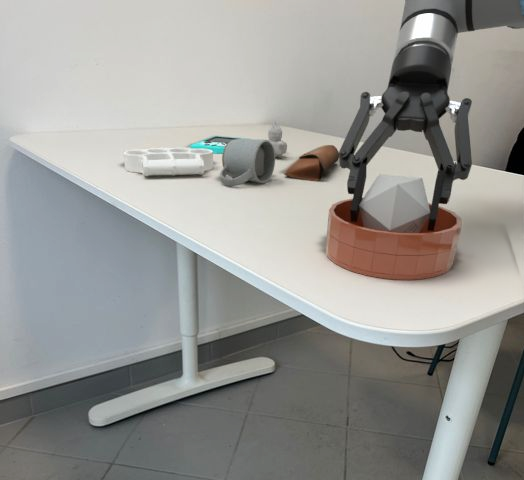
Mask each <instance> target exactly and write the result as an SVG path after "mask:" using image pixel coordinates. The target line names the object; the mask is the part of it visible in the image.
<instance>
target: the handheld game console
mask: <svg viewBox="0 0 524 480" xmlns="http://www.w3.org/2000/svg"><path fill="white" fill-rule="evenodd" d="M235 139H245V137H244V138H243V137H231V136H222V135H221V136H219V135H214V136H212V137H209V138H206V139H204V140H201V141H198V142H196V143H193V144H191V145H190V146H189V149H200V148H202V149H209V150H212V151H213V154H223V151H224V148H225V146H226V145H227V143H228V142H230V141H232V140H235Z"/></svg>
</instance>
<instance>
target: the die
mask: <svg viewBox="0 0 524 480" xmlns="http://www.w3.org/2000/svg"><path fill="white" fill-rule="evenodd" d="M423 179H424V178H423V177H415V176H406V175H405V176H404V175H393V174H384V173H379V174H378V175H377V177H376V178H375V179H374V181H373V183H372V184H371V185H370V187H369V189H368V190H367V192H366V193H365V194H364V196H363V197H364V198H363V197H362V198H363V199H362V201H361V202H360V204H359V208H360V212H361V216H362V221H363V225H364V227H365V228H369V229H374V230H379V231H387V232H396V233H419V232H420V231H421V229H422V227H423V226H424V224H425V222H426V221H427V219H428V217H429V215H430V209H429V204H428V203H429V200H428V197H427V196H428V195H427V191H426V188H425V183H424V180H423Z"/></svg>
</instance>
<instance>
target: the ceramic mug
mask: <svg viewBox="0 0 524 480" xmlns="http://www.w3.org/2000/svg"><path fill="white" fill-rule="evenodd" d="M268 140H269V139H254V138H253V139H252V138H244V139H235V140H232V141H230V142H228V143H227V145H226V146H225V148H224V151H223V153H222V157H221V164H222V167H223V168H222V169H221V170H220V172H219V177H220V180H221V183H222V184H223V185H225V186H227V187H236V186H241V185H243V184H245V183H247V182H252V183H258V184H266V183H267V182H268V181H269V180H270V179H271V178H272V176H273V173H274V170H275V167H276V166H275V165H276V157H275V152H274V148H273V145H272V144H271V142H270V141H268ZM227 176H228V177H231V178H226V177H227Z"/></svg>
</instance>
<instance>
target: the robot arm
mask: <svg viewBox="0 0 524 480" xmlns="http://www.w3.org/2000/svg"><path fill="white" fill-rule="evenodd" d="M502 27H507V28H510V29H514V30H517V29H518V30H521V29H524V0H404V7H403V11H402V18H401V23H400V27H399V32H398V35H397V39H396V45H395V49H394V55H393V61H392V63H391V64H392V65H391V68H390V74H389V78H388V83H387V87H386V90H385V91H384V92H383V93H382V95H375V96H371V93H370V92H368V91H364V92H361V94H360V97H359V101H360V102H359V109H358V110H357V113H356V115H355V117H354V119H353V121H352V123H351V126H350V127H349V130H348V132H347V134H346V136H345V138H344V140H343V143H342V144H341V147H340V149H339V150H338V152H339V159H338V163H339V167H340V168H341V169H348V170H349V173H348V178H347V184H346V187H347V188H346V189H347V190H346V191H347V194H348V195H353V196H352V199H353V200H352V205H351V209H350V214H351V221H352V222H357V219H358V214H359V210H360V208H359V204H360V202H361V200H362V198H363V195H364V190H365V185H366V181H367V167H368V164H369V163H370V162H371V161H372V159H373V158H374V157H375V155H376V154H377V153H379V151H380V149H381V148H382V147H383V146H384V144H386V142H387V141H388V140H389V138H391V137H393V135H394V134H395V133H396V132H397V131H400V132H402V131H403V132H405V131H412V132H416V133H423V135H424V138H425V140H426V141H427V143H428V145H429V148H430V151H431V153H432V156H433V158H434V159H433V160H434V161H435V163H436V167H437V169H438V170H437V174H436V177H435V182H434V189H433V195H432V200H431V204H432V205H431V211H430V216H429V222H428V228H427V230H429V231H434V227H435V223H436V218H437V212H438V207H439V206H440V205H448V203H449V202H450V198H451V195H452V190H453V182H454V181H455V180H460V181H461V180H462V181H465V180H467V179H468V178H469V176H470V173H471V169H472V165H473V160H472V159H473V158H472V149H471V148H472V147H471V136H470V126H469V125H470V124H469V114H470V111H471V107H472V103H473V102H472V101H473V100H472V99H471V98H467V97H465V98H463V99H462V100H461V102H460V101H456V100H455V101H454V100H451V99H450V98H451V97H450V96H449V94H448V92H449V86H450V81H451V74H452V66H453V62H454V57H455V51H456V46H457V41H458V40H457V39H458V34H461V33H467V32H475V31H479V30H486V29H494V28H502ZM379 108H381V110H382V111H383V113H384V115H383V117H382V119H381V120H380V122H379V123H378V125H377V126H376V127H375V128H374V130H373V131H372V132H371V133H370V135H368V137H367V139H366V140H365V141H364V142H363V143H362V145H361V146H360V147H359V148H358V146H359V144H360V142H361V140H362V138H363V136H364V134H365V131H366V129H367V127H368V125H369V122H370V119H371V118H370V117H374V115H375V114H376V113H377V110H378V109H379ZM447 113H448V114H449V115H450V119H451V122H452V123H454V142H455V155H456V161H455V162H454V159H453V156H452V154H451V151H450V148H449V145H448V143H447V141H446V137H445V135H444V133H443V130H442V127H441V124H440V119H441V118H442V117H443V116H445V115H446V114H447Z"/></svg>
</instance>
